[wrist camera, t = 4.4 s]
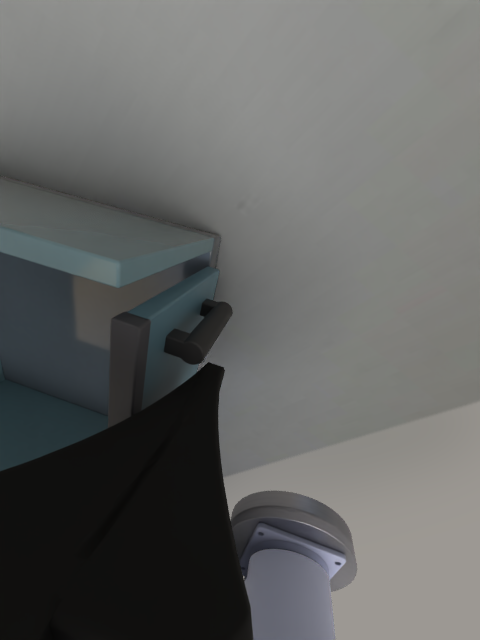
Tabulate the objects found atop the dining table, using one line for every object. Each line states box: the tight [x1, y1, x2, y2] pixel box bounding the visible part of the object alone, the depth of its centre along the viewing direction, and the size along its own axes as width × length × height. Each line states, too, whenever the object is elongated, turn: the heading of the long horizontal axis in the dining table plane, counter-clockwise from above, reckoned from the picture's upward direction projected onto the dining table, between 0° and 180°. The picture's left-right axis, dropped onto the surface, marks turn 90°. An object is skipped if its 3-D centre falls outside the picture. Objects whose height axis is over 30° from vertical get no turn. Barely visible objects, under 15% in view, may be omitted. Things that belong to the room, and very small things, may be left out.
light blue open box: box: [0, 175, 221, 471], centre depth 12 cm, size 14×14×8 cm
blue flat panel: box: [108, 266, 232, 428], centre depth 10 cm, size 12×2×6 cm, turn 165°
